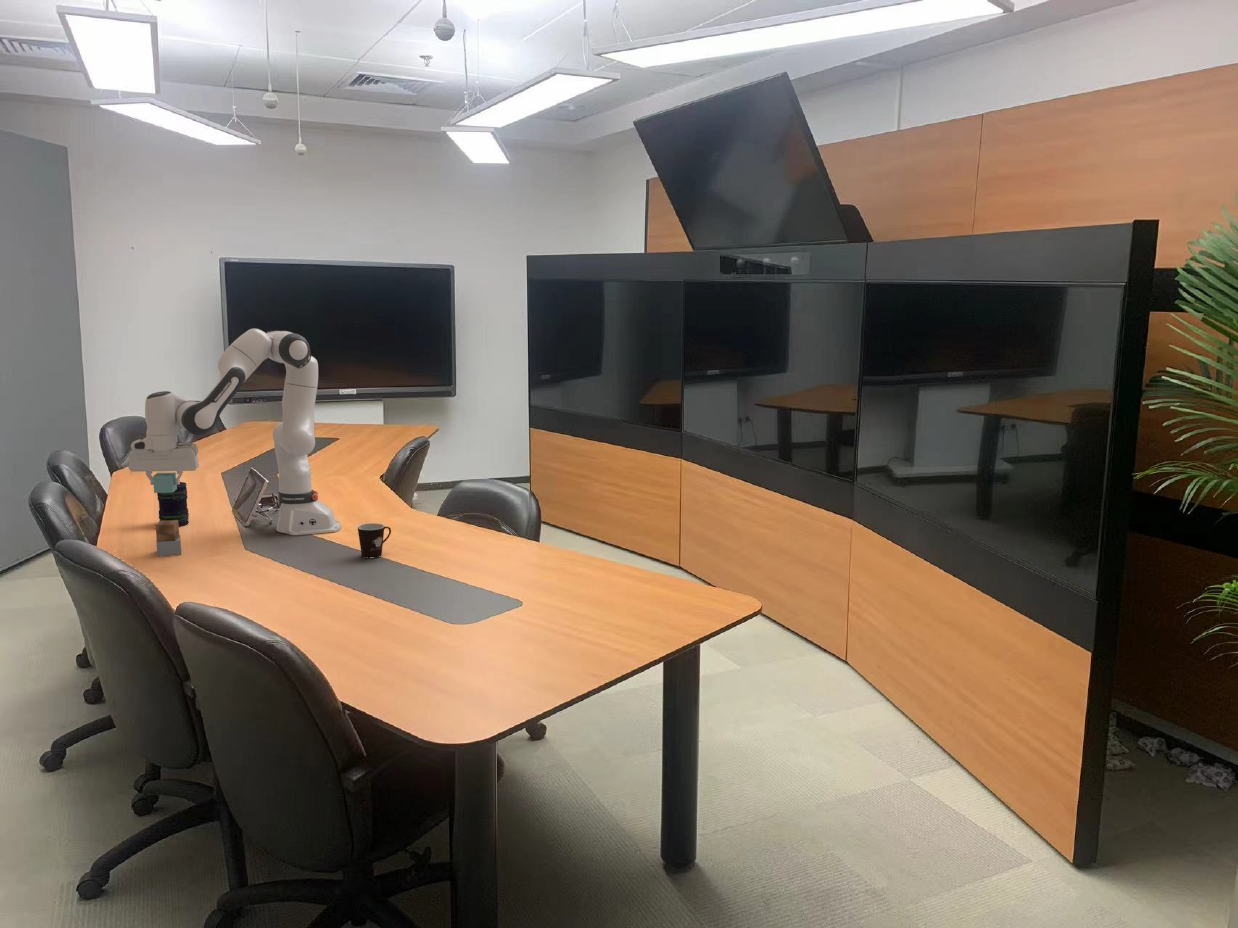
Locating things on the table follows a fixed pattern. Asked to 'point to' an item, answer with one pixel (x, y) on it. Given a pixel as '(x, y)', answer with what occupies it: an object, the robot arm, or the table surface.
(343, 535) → the table surface
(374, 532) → the coffee mug
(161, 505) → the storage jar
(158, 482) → the teal cube
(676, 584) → the table surface
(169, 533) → the walnut cube
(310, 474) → the robot arm
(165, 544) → the grey base block
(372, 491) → the table surface
